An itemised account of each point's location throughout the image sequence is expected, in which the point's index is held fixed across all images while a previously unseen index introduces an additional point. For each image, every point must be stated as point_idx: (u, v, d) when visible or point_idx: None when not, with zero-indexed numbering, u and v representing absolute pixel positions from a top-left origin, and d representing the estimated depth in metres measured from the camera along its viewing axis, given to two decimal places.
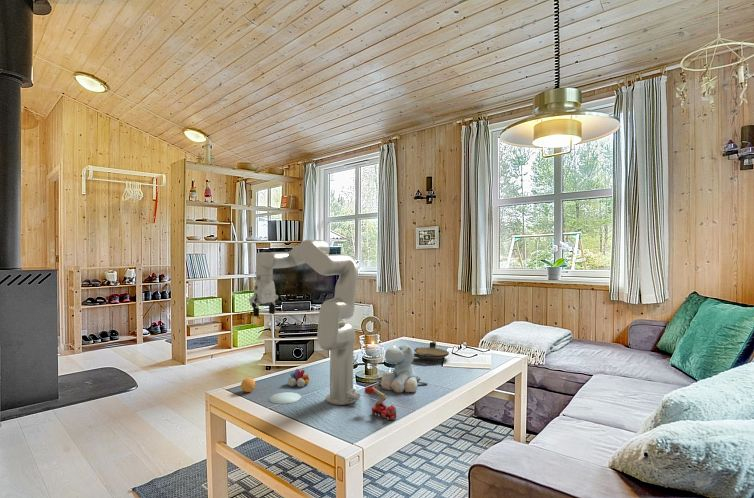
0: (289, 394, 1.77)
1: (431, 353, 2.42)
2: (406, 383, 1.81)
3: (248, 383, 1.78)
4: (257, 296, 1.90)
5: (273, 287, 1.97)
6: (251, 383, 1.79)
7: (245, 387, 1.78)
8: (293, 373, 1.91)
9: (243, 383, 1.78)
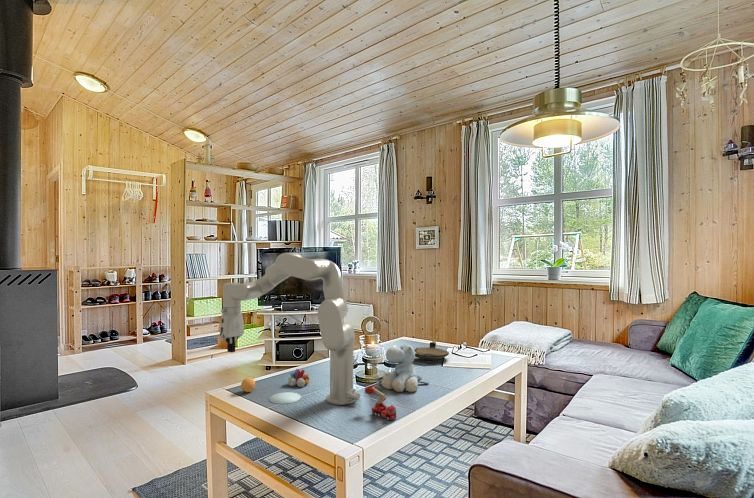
0: (289, 394, 1.77)
1: (431, 353, 2.42)
2: (406, 382, 1.81)
3: (248, 383, 1.78)
4: (223, 330, 1.80)
5: (241, 319, 1.86)
6: (251, 383, 1.79)
7: (245, 387, 1.78)
8: (293, 373, 1.91)
9: (243, 383, 1.78)
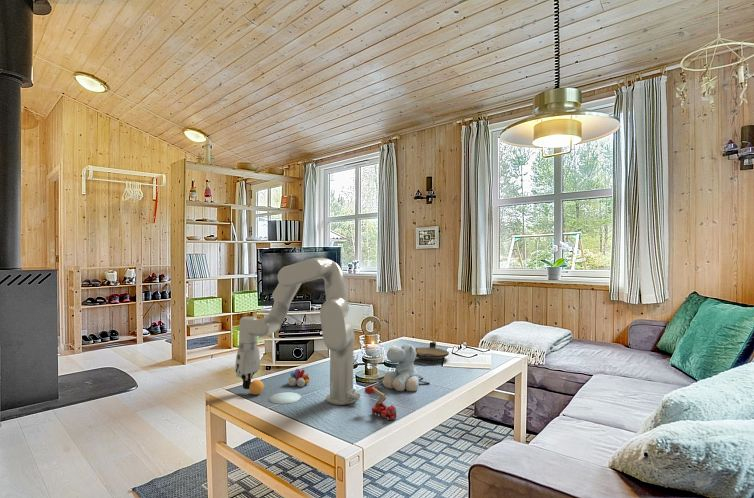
0: (289, 394, 1.77)
1: (431, 353, 2.42)
2: (407, 382, 1.82)
3: (257, 393, 1.76)
4: (239, 367, 1.74)
5: (258, 354, 1.81)
6: (259, 393, 1.77)
7: (252, 392, 1.76)
8: (293, 373, 1.91)
9: (254, 389, 1.75)
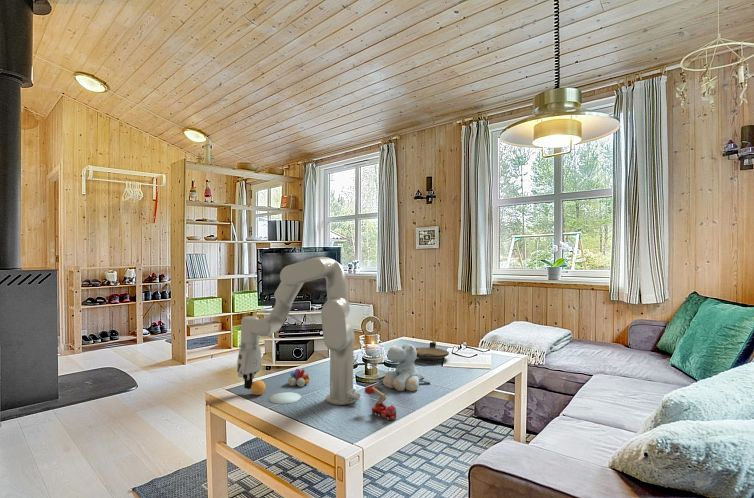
0: (289, 394, 1.77)
1: (431, 353, 2.42)
2: (407, 381, 1.83)
3: (257, 394, 1.76)
4: (241, 366, 1.74)
5: (259, 354, 1.80)
6: (259, 394, 1.77)
7: (253, 392, 1.75)
8: (293, 373, 1.92)
9: (256, 390, 1.75)
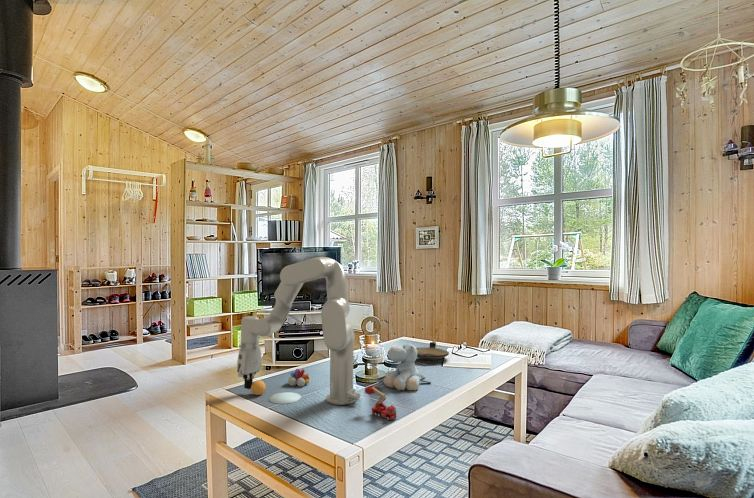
0: (289, 394, 1.77)
1: (431, 353, 2.42)
2: (408, 381, 1.83)
3: (257, 394, 1.76)
4: (241, 366, 1.74)
5: (259, 354, 1.80)
6: (260, 394, 1.77)
7: (253, 392, 1.75)
8: (293, 373, 1.92)
9: (256, 390, 1.75)
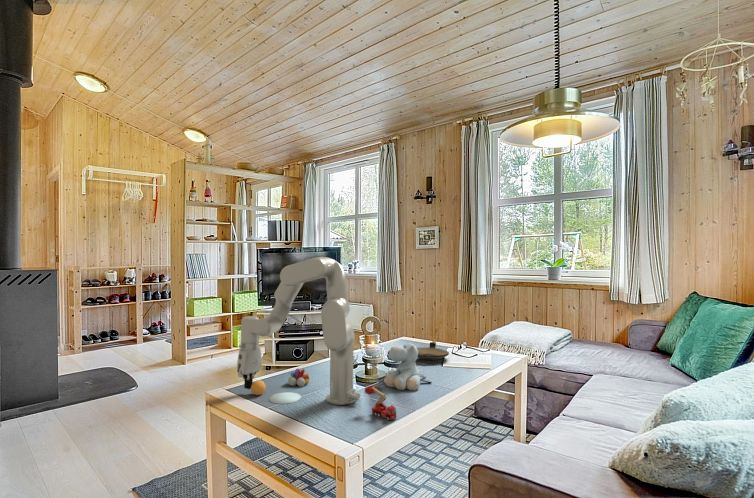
0: (289, 394, 1.77)
1: (431, 353, 2.42)
2: (408, 381, 1.84)
3: (258, 394, 1.76)
4: (241, 366, 1.74)
5: (259, 354, 1.80)
6: (260, 394, 1.77)
7: (253, 392, 1.75)
8: (293, 373, 1.92)
9: (256, 390, 1.75)
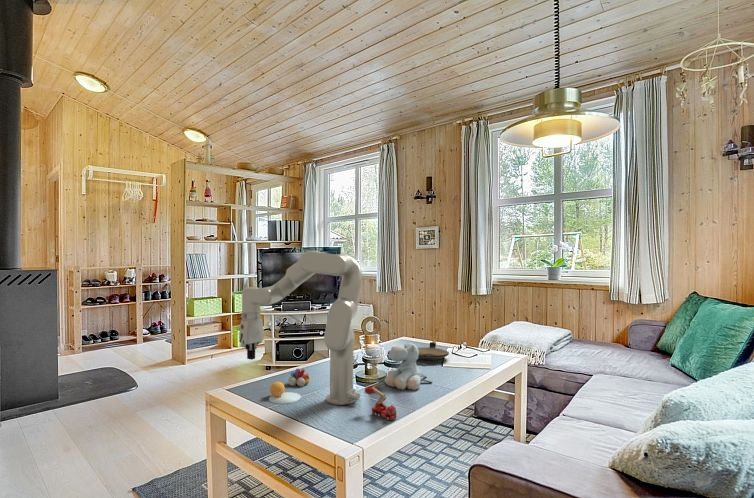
0: (289, 394, 1.77)
1: (431, 353, 2.42)
2: (408, 380, 1.84)
3: (272, 385, 1.74)
4: (243, 336, 1.73)
5: (261, 325, 1.80)
6: (273, 383, 1.75)
7: (275, 387, 1.73)
8: (293, 372, 1.92)
9: (272, 390, 1.73)
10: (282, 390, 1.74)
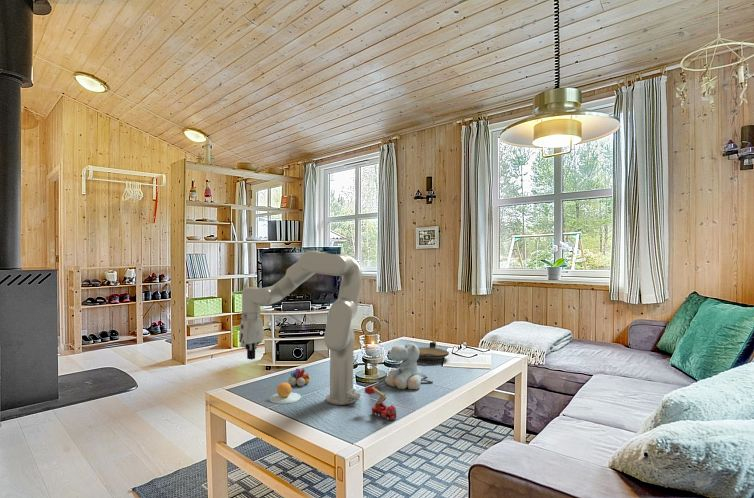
0: None
1: (431, 353, 2.42)
2: (409, 380, 1.85)
3: (285, 386, 1.73)
4: (243, 336, 1.73)
5: (261, 324, 1.80)
6: (286, 384, 1.74)
7: (285, 391, 1.72)
8: (293, 372, 1.92)
9: (280, 390, 1.72)
10: (286, 396, 1.73)
